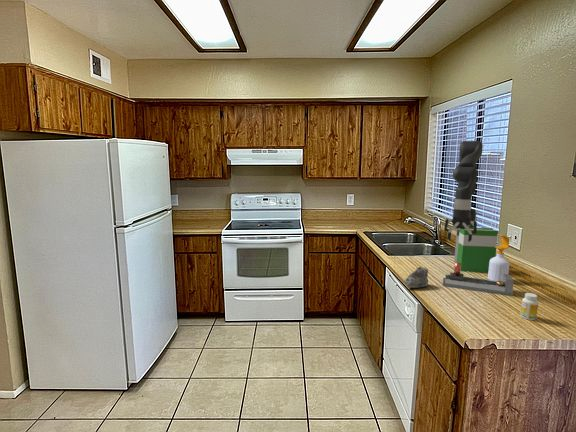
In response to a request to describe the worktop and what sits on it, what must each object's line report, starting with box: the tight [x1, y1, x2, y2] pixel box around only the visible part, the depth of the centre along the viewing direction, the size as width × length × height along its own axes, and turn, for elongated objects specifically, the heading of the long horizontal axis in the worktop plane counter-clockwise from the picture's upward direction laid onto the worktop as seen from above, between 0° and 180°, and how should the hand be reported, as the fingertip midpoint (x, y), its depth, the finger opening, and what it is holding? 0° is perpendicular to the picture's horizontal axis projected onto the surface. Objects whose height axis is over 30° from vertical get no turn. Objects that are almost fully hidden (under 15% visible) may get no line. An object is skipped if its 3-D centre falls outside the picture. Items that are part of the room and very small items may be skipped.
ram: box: [449, 262, 465, 281], centre depth 174 cm, size 6×6×10 cm
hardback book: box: [457, 227, 499, 273], centre depth 198 cm, size 18×7×24 cm, turn 82°
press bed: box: [442, 274, 514, 297], centre depth 171 cm, size 9×30×8 cm, turn 65°
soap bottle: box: [487, 233, 511, 282], centre depth 181 cm, size 9×9×25 cm
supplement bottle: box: [519, 292, 539, 321], centre depth 139 cm, size 5×5×10 cm
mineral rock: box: [405, 266, 429, 289], centre depth 172 cm, size 13×11×10 cm
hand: (459, 240), depth 172 cm, fingers open, 8 cm apart
